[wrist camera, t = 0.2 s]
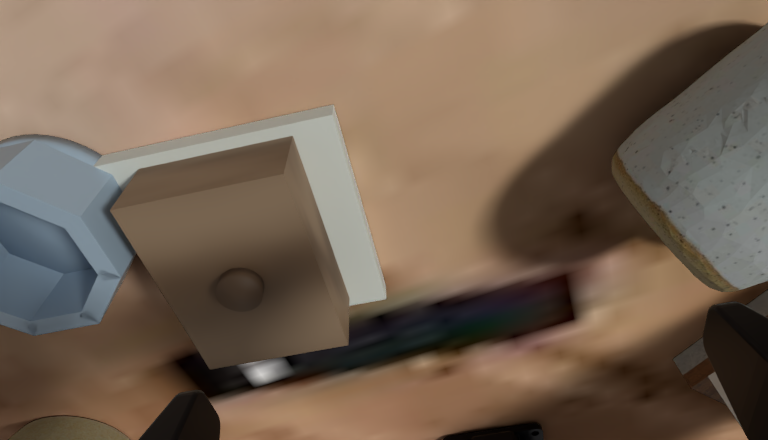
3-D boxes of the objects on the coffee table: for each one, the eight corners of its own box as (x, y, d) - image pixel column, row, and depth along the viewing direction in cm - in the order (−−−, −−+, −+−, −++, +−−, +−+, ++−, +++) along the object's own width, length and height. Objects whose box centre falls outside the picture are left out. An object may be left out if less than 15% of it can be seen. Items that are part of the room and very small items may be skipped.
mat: (385, 285, 27) (386, 299, 26) (200, 319, 28) (195, 334, 27) (333, 104, 21) (332, 114, 20) (102, 155, 22) (92, 167, 21)
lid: (349, 298, 26) (348, 355, 23) (223, 321, 26) (206, 380, 23) (292, 135, 21) (281, 182, 18) (138, 168, 21) (102, 220, 18)
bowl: (174, 254, 25) (146, 314, 22) (36, 281, 26) (-11, 344, 22) (95, 117, 21) (46, 167, 18) (-67, 154, 22) (-143, 208, 18)
